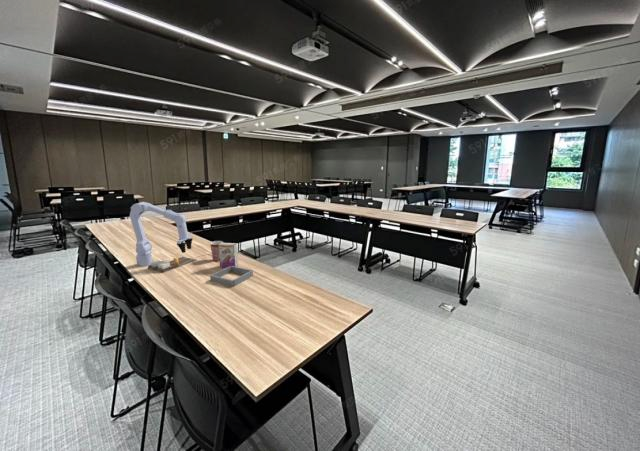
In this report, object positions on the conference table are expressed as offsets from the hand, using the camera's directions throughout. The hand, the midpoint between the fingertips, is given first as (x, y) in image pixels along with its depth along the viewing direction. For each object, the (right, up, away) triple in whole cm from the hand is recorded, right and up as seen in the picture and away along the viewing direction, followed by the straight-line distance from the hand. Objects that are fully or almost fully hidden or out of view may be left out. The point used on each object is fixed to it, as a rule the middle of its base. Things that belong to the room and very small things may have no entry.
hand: (186, 250), depth 189 cm
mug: (+19, -8, +12) cm, 24 cm away
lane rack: (-9, -10, 0) cm, 13 cm away
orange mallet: (-8, -11, -7) cm, 15 cm away
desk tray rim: (+39, -15, -21) cm, 46 cm away
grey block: (-16, -11, -8) cm, 21 cm away
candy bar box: (+30, -11, -2) cm, 32 cm away
